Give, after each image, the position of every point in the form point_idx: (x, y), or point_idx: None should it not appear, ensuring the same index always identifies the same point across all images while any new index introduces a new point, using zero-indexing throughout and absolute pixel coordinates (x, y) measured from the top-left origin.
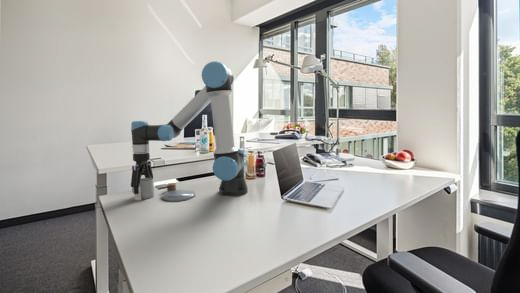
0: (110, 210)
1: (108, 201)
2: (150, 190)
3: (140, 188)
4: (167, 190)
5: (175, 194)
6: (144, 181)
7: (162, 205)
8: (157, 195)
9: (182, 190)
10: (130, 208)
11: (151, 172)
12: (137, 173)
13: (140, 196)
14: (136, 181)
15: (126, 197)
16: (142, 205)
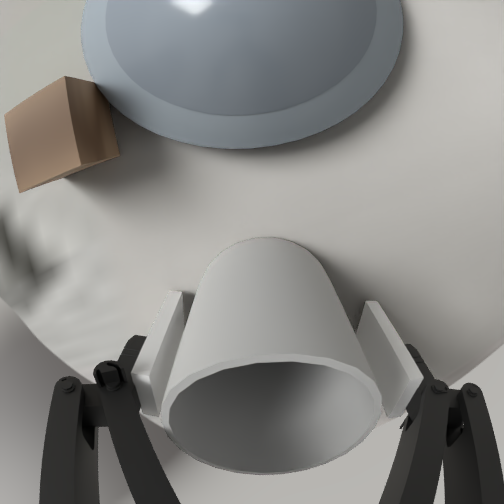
0: (477, 358)
1: None
2: (319, 280)
3: (342, 378)
4: (108, 156)
5: (264, 10)
6: (379, 405)
7: (474, 94)
8: (214, 216)
9: (117, 4)
10: (488, 286)
11: (65, 452)
12: (498, 498)
13: (379, 317)
14: (487, 423)
15: None
16: (464, 239)
